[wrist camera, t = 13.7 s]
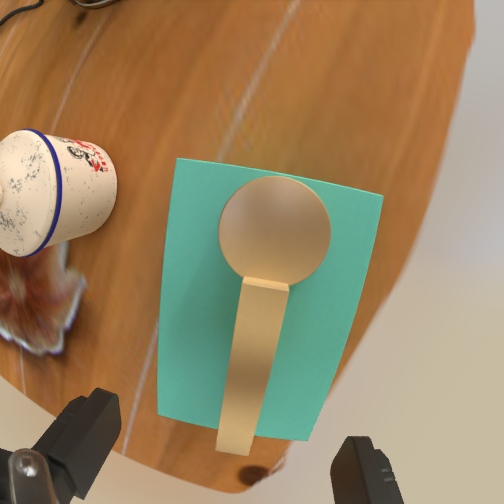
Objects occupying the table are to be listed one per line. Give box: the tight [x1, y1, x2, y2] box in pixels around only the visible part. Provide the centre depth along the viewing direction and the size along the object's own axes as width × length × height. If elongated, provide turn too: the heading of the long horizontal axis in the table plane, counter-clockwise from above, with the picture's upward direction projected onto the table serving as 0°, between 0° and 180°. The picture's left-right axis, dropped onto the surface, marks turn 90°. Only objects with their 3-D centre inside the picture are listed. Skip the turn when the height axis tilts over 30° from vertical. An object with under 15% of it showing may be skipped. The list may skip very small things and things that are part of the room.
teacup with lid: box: [0, 129, 117, 257], centre depth 18 cm, size 12×9×12 cm
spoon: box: [215, 176, 331, 456], centre depth 16 cm, size 17×5×3 cm, turn 171°
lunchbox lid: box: [157, 158, 383, 441], centre depth 18 cm, size 18×12×1 cm, turn 170°
